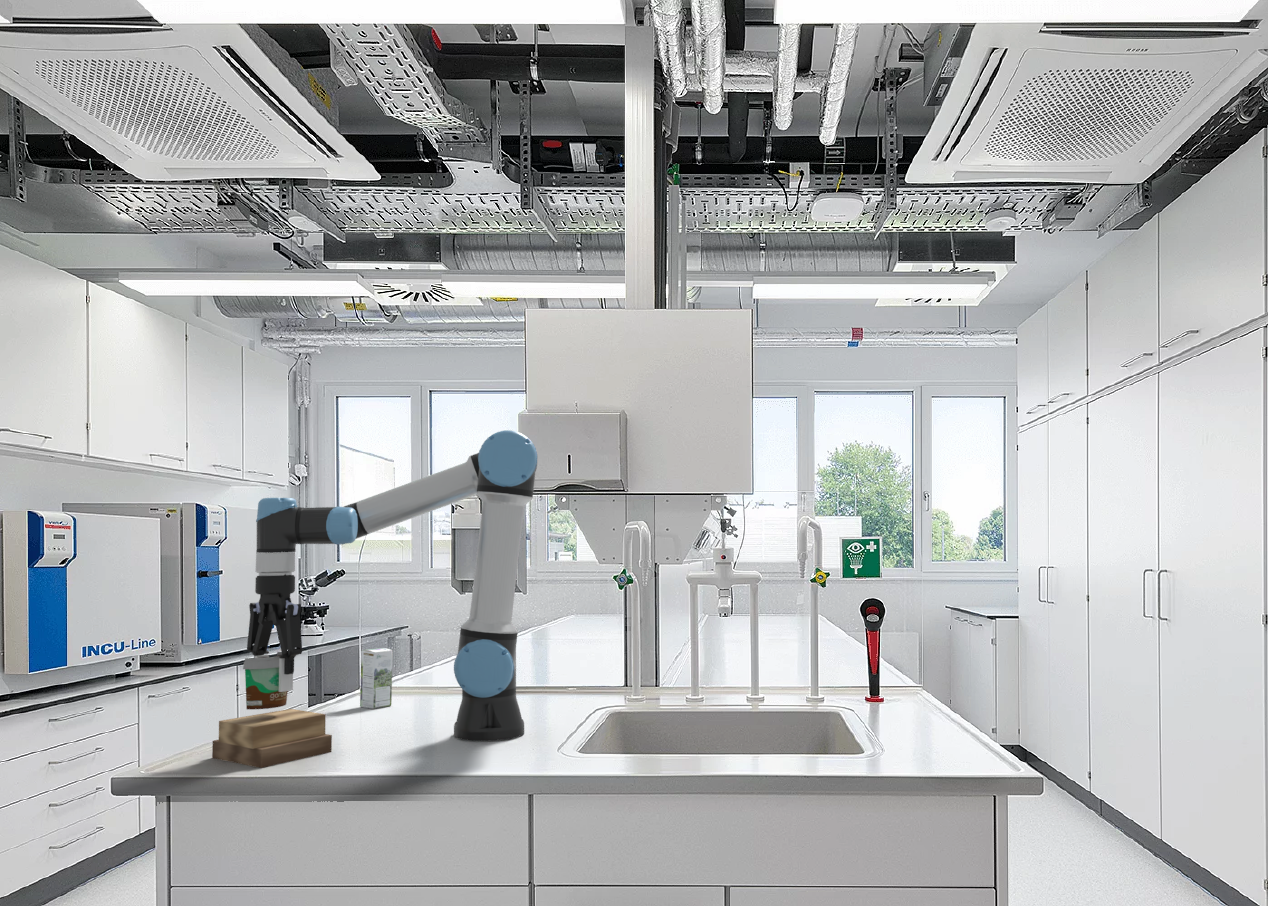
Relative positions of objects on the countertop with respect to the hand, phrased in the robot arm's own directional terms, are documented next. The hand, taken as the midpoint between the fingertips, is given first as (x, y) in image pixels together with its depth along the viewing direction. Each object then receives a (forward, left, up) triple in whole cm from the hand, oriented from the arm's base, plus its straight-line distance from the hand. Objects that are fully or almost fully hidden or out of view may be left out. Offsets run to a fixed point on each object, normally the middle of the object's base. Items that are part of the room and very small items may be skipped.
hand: (273, 689), depth 196 cm
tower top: (0, 0, -9) cm, 9 cm away
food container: (0, 0, -3) cm, 4 cm away
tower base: (0, 0, -13) cm, 13 cm away
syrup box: (+26, -49, -13) cm, 57 cm away
